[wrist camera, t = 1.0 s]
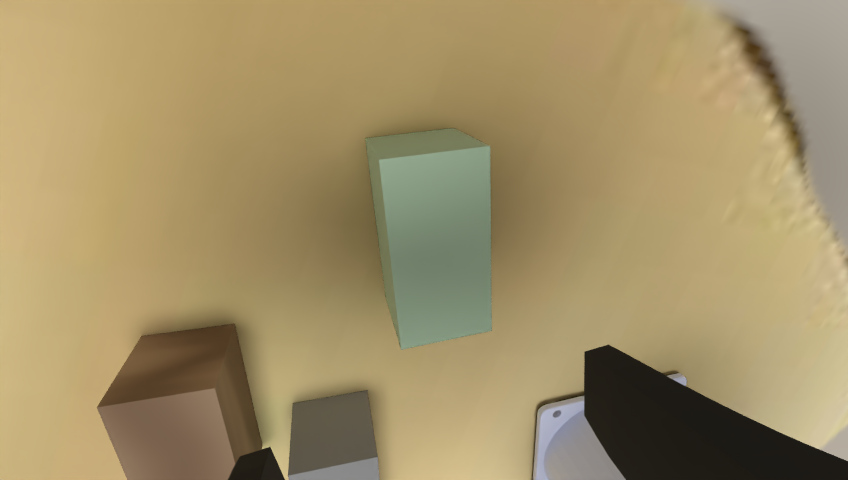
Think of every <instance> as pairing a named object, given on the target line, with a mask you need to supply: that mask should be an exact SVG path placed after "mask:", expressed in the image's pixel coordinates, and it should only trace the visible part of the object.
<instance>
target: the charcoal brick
mask: <svg viewBox="0 0 848 480" xmlns="http://www.w3.org/2000/svg"><path fill="white" fill-rule="evenodd" d="M288 477H289V480H379V468H378V456H377V450H376V443H375V437H374V430H373V424H372V418H371V411H370V405H369V398H368V392H367V390H366V391H360V392H354V393H349V394H343V395H337V396H332V397H326V398H320V399H315V400H309V401H303V402H298V403H293V409H292V425H291V440H290V455H289V471H288Z"/></svg>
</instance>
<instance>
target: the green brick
mask: <svg viewBox="0 0 848 480" xmlns="http://www.w3.org/2000/svg"><path fill="white" fill-rule="evenodd" d="M365 141H366V148H367V156H368V164H369V172H370V180H371V187H372V195H373V203H374V211H375V219H376V226H377V234H378V242H379V250H380V258H381V265H382V273H383V281H384V289H385V297H386V300H387V303H388V307H389V310H390V313H391V317H392V320H393V324H394V327H395V330H396V334H397V337H398V341H399V344H400V347H401V350H402V349H407V348H412V347H417V346H421V345H426V344H431V343H436V342H440V341H445V340H450V339H455V338H459V337H464V336H469V335H474V334H478V333H483V332H488V331H492V310H491V186H490V146H489V145H487V144H485V143H483V142H481V141H479V140H477V139H475V138H473V137H471V136H469V135H467V134H465V133H463V132H461V131H459V130H457V129H455V128H449V129H440V130H432V131H423V132H414V133H406V134H397V135H388V136H380V137H371V138H365Z"/></svg>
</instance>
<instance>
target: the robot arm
mask: <svg viewBox="0 0 848 480" xmlns="http://www.w3.org/2000/svg"><path fill="white" fill-rule="evenodd" d="M686 383H687V379H686V377H685V376H683V375H682V374H680V373H677V374H672V375H668V376H666V375H664V374H662V373H660V372H658V371H656V370H654V369H653V368H651V367H649V366H647V365H645V364H643V363H642V362H640V361H638V360H636V359H634V358H632V357H631V356H629V355H627V354H625V353H623V352H621V351H619V350H618V349H616V348H614V347H612V346H610V345H606V346H602V347H599V348H596V349H592V350H589V351H586V352H585V369H584V396H580V397H576V398H571V399H567V400H563V401H559V402H555V403H550V404H546V405H543V406H542V407H541V408H540V409H539V410H538V413H537V427H536V442H535V457H534V471H533V480H848V461H846V460H843V459H841V458H838V457H836V456H834V455H831V454H829V453H826V452H824V451H821V450H819V449H816V448H814V447H812V446H809V445H807V444H804V443H802V442H800V441H798V440H795V439H793V438H791V437H788V436H786V435H784V434H782V433H780V432H777V431H775V430H773V429H771V428H769V427H767V426H765V425H762V424H760V423H758V422H756V421H754V420H752V419H750V418H748V417H745V416H743V415H741V414H739V413H737V412H735V411H733V410H731V409H729V408H727V407H725V406H723V405H721V404H719V403H717V402H715V401H713V400H711V399H709V398H707V397H705V396H703V395H701V394H699V393H698V392H696V391H694V390H692V389H690V388H688V387H686ZM228 480H285V479H284V477H283V474H282V472H281V470H280V468H279V466H278V463H277V461H276V459H275V457H274V454H273V452H272V450H271V448H270V447H269V448H265V449H262V450H259V451H255V452H252V453H249V454H245V455H242V456H240V457H239V459H238V460H237V462H236V464H235V466H234V468H233V470H232V472H231V474H230V476H229V478H228Z"/></svg>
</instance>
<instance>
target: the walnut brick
mask: <svg viewBox="0 0 848 480" xmlns="http://www.w3.org/2000/svg"><path fill="white" fill-rule="evenodd" d="M97 409H98V411H99V414H100V416H101V418H102V421H103V423H104V425H105V428H106V430H107V433H108V435H109V437H110V440H111V442H112V444H113V447H114V449H115V451H116V454H117V456H118V458H119V461H120V463H121V466H122V468H123V470H124V473H125V475H126V477H127V480H228V478H229V476H230V474H231V472H232V470H233V468H234V466H235V464H236V462H237V460H238V459H239V457H240V456H242V455H245V454H249V453H252V452H255V451H259V450H262V442H261V438H260V433H259V429H258V425H257V420H256V416H255V411H254V407H253V403H252V398H251V394H250V389H249V385H248V381H247V376H246V372H245V367H244V363H243V359H242V354H241V350H240V346H239V341H238V337H237V332H236V328H235V324H229V325H222V326H214V327H207V328H199V329H192V330H185V331H177V332H170V333H162V334H155V335H148V336H141V338H140V340H139V341H138V343H137V344H136V346H135V348H134V349H133V351H132V352H131V354H130V356H129V357H128V359H127V360H126V362H125V363H124V365H123V367H122V368H121V370H120V371H119V373H118V375H117V376H116V378H115V379H114V381H113V383H112V384H111V386H110V387H109V389H108V391H107V392H106V394H105V395H104V397H103V399H102V400H101V402H100V403H99V405H98V407H97Z"/></svg>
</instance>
